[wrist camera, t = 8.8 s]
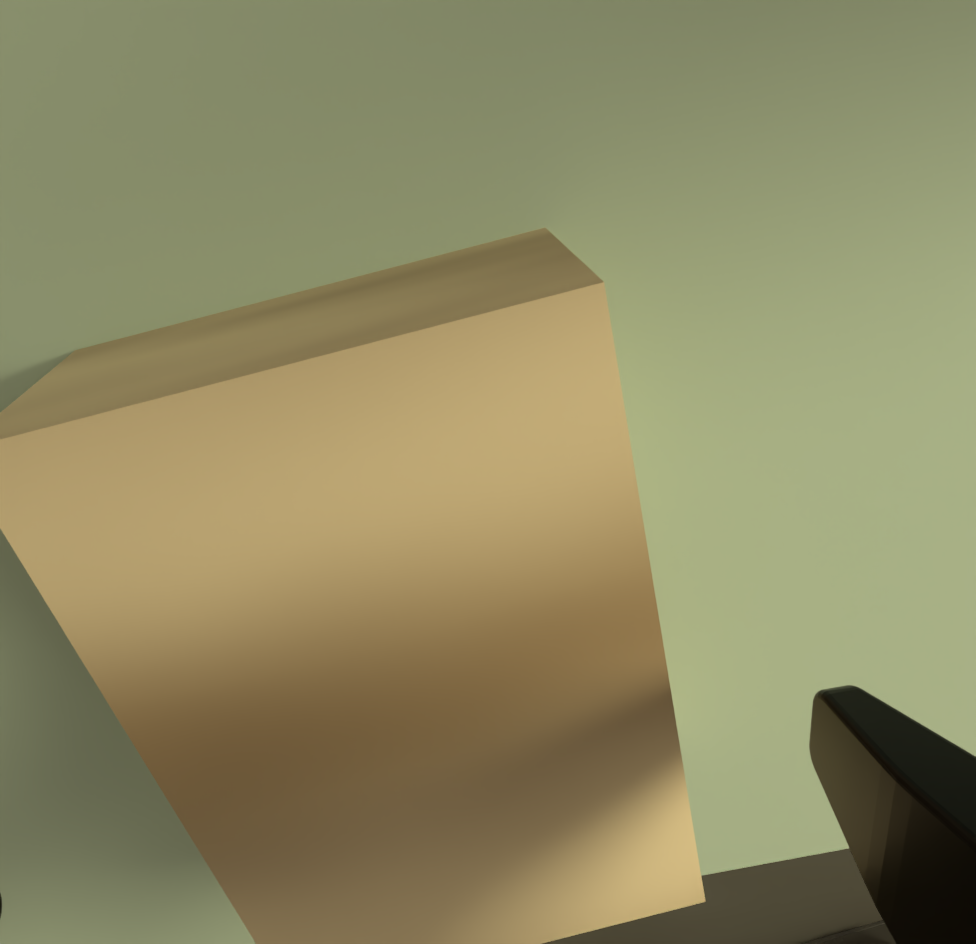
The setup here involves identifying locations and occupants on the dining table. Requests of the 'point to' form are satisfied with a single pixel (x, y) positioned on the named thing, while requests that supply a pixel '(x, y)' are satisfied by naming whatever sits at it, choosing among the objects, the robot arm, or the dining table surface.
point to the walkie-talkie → (860, 936)
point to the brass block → (375, 599)
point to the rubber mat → (635, 326)
